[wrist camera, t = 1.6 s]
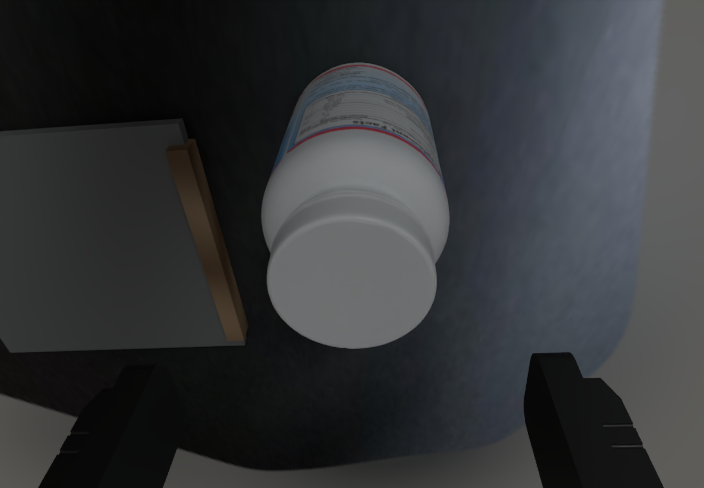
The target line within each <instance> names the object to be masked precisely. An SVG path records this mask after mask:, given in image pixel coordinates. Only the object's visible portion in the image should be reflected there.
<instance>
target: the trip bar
mask: <svg viewBox="0 0 704 488" xmlns="http://www.w3.org/2000/svg"><path fill="white" fill-rule="evenodd" d="M165 152H166V155H167V158H168V162H169V165H170V168H171V171H172V174H173V177H174V180H175V183H176V186H177V189H178V192H179V195H180V198H181V201H182V204H183V207H184V210H185V213H186V216H187V220H188V223H189V226H190V229H191V232H192V235H193V238H194V241H195V244H196V247H197V250H198V253H199V256H200V259H201V262H202V265H203V268H204V271H205V275H206V278H207V281H208V284H209V287H210V290H211V293H212V296H213V299H214V302H215V305H216V308H217V311H218V314H219V317H220V320H221V323H222V326H223V329H224V333H225V336H226V339H227V341H244V340H245V336H246V333H247V329H248V322H247V319H246V315H245V312H244V308H243V305H242V301H241V298H240V294H239V291H238V287H237V284H236V280H235V277H234V273H233V270H232V266H231V263H230V259H229V256H228V252H227V249H226V245H225V242H224V238H223V235H222V231H221V228H220V224H219V221H218V218H217V214H216V211H215V207H214V204H213V200H212V197H211V193H210V190H209V186H208V183H207V179H206V176H205V172H204V169H203V165H202V162H201V158H200V155H199V151H198V148H197V144H196V141H195V139H188V141H187V142H186V143H185V145H171V146H169V147H168V148H167V150H166V151H165Z"/></svg>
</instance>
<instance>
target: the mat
mask: <svg viewBox="0 0 704 488" xmlns="http://www.w3.org/2000/svg"><path fill="white" fill-rule="evenodd" d="M187 141H188V135H187V132H186V128H185V125H184V122H183V118H181V119H167V120H153V121H139V122H125V123H111V124H97V125H83V126H68V127H54V128H40V129H26V130H12V131H0V338H1V340H2V341H3V343H4V344H5V345H6V347H7V348H8V350H9V351H10V353H14V352H46V351H78V350H109V349H141V348H173V347H204V346H236V345H245V343H246V340H247V336H245V340H244V341H227V339H226V336H225V333H224V329H223V326H222V323H221V320H220V317H219V314H218V311H217V308H216V305H215V302H214V299H213V296H212V293H211V290H210V287H209V284H208V281H207V278H206V275H205V271H204V268H203V265H202V262H201V259H200V256H199V253H198V250H197V247H196V244H195V241H194V238H193V235H192V232H191V229H190V226H189V223H188V220H187V216H186V213H185V210H184V207H183V204H182V201H181V198H180V195H179V192H178V189H177V186H176V183H175V180H174V177H173V174H172V171H171V168H170V165H169V162H168V158H167V155H166V152H165V151H166V150H167V148H168V147H169V146H171V145H185V143H186V142H187Z"/></svg>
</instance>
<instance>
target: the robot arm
mask: <svg viewBox="0 0 704 488" xmlns="http://www.w3.org/2000/svg"><path fill="white" fill-rule="evenodd" d="M524 416H525V423H526V427H527V431H528V435H529V438H530V442H531V446H532V449H533V453H534V457H535V460H536V464H537V467H538V471H539V475H540V478H541V482H542V485H543V488H664V487H663V485H662V483H661V481H660V479H659V477H658V475H657V472H656V471H655V469H654V466H653V464H652V462H651V460H650V458H649V456H648V454H647V452H646V450H645V449H644V448H643V446H642V444H643V443H642V441H641V439H640V437H639V435H638V433H637V431H636V429H635V428H633V422H632V420H631V418H630V416H629V414H628V412H627V410H626V408H625V406H624V404H623V402H622V400H621V398H620V397H619V396H618V395H617V394H616V393H615V392H614V391H613V390H612V389H611V388H610V387H609V386H608V385H607V384H606V383H605V382H604V381H603V380H602V379H601V378H583V377H582V374H581V372H580V370H579V367H578V365H577V363H576V360H575V358H574V356H573V355H572V354H571V353H570V352H562V353H533V354H532V356H531V359H530V365H529V371H528V377H527V384H526V390H525V396H524ZM184 424H185V410H184V405H183V403H182V400H181V398H180V396H179V393H178V391H177V389H176V386H175V384H174V382H173V380H172V377H171V375H170V373H169V370H168V368H167V366H166V365H165V364H164V363H135V364H128V365H126V366H125V367H124V368H123V370H122V372H121V373H120V375H119V377H118V379H117V381H116V383H115V385H114V386H113V388H111V389H103V390H102V391H101V392H100V393H99V394H98V395H97V396H96V397H95V398H94V399H93V400H91V401H90V402H89V403H88V404H87V405H86V406H85V407H84V408H83V410H82V412H81V414H80V415H79V417H78V419H77V421H76V422H75V424H74V426H73V428H72V429H71V434H70V436H67V438H66V440H65V442H64V443H63V445H62V447H61V449H60V454H59V455H57V456H56V458H55V459H54V461H53V463H52V464H51V466H50V468H49V470H48V472H47V473H46V475H45V477H44V478H43V480H42V482H41V484H40V486H39V487H38V488H163V486H164V483H165V480H166V477H167V475H168V472H169V469H170V466H171V464H172V461H173V458H174V455H175V453H176V450H177V447H178V444H179V441H180V439H181V436H182V433H183V429H184Z"/></svg>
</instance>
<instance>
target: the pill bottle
mask: <svg viewBox="0 0 704 488" xmlns="http://www.w3.org/2000/svg"><path fill="white" fill-rule="evenodd" d="M261 219H262V228H263V233H264V237H265V240H266V243H267V246H268V248H269V251H270V253H271V256H270V260H269V264H268V269H267V288H268V293H269V296H270V299H271V302H272V304H273V306H274V308H275V310H276V311H277V313H278V314H279V315H280V317H281V318H282V319H283V320H284V321H285V322H286V323H287V324H288V325H289V326H290V327H291V328H293V329H294V330H295V331H297V332H298V333H300V334H301V335H303V336H305V337H307V338H309V339H311V340H313V341H316V342H318V343H322V344H325V345H329V346H334V347H339V348H350V349H356V348H369V347H374V346H379V345H383V344H386V343H389V342H391V341H393V340H396V339H398V338H400V337H402V336H404V335H405V334H407V333H408V332H410V331H411V330H412V329H414V328H415V327H416V326H417V325H418V324H419V323H420V322H421V321H422V320H423V318H424V317H425V316H426V314H427V313H428V311H429V309H430V308H431V305H432V303H433V300H434V297H435V293H436V284H437V277H436V268H435V263H436V262H437V260H438V258H439V257H440V255H441V253H442V251H443V248H444V246H445V243H446V240H447V236H448V230H449V208H448V200H447V195H446V191H445V186H444V181H443V177H442V173H441V169H440V165H439V160H438V156H437V151H436V146H435V142H434V137H433V133H432V128H431V124H430V119H429V116H428V112H427V109H426V107H425V104H424V102H423V100H422V99H421V97H420V96H419V94H418V93H417V92H416V90H415V89H414V88H413V87H412V86H411V85H410V84H409V83H408V82H407V81H406V80H404V79H403V78H402V77H400V76H399V75H397V74H396V73H394V72H392V71H390V70H388V69H386V68H383V67H381V66H378V65H374V64H368V63H349V64H343V65H340V66H337V67H334V68H332V69H329V70H327V71H326V72H324V73H322V74H321V75H319V76H318V77H317V78H315V79H314V80H313V81H312V82H311V83H310V84H309V85H308V86H307V87H306V88H305V90H304V91H303V93H302V94H301V96H300V97H299V99H298V102H297V104H296V106H295V108H294V111H293V114H292V117H291V119H290V122H289V125H288V128H287V130H286V133H285V136H284V138H283V141H282V144H281V147H280V150H279V153H278V155H277V158H276V161H275V164H274V167H273V170H272V172H271V175H270V178H269V181H268V184H267V187H266V190H265V193H264V197H263V202H262V214H261Z"/></svg>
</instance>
